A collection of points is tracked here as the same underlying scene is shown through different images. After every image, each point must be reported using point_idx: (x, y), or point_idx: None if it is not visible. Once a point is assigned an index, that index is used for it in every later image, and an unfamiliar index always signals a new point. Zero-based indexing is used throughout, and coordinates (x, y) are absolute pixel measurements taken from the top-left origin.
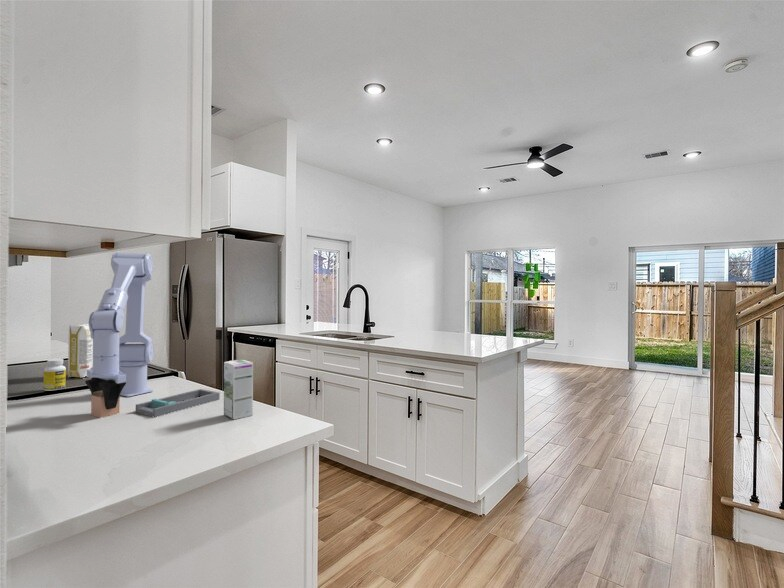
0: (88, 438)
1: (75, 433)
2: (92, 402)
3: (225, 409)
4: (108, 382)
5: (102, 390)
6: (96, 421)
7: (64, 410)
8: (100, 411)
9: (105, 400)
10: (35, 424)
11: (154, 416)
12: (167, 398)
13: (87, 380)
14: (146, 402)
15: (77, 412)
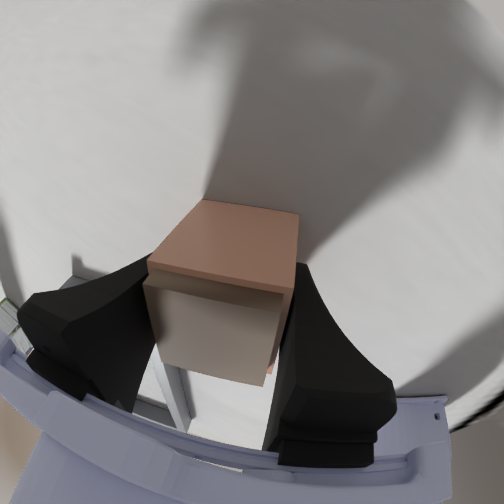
0: (33, 60)
1: (92, 37)
2: (280, 251)
3: (16, 321)
4: (60, 362)
5: (109, 300)
6: (164, 155)
7: (483, 229)
8: (191, 213)
9: (145, 262)
10: (405, 11)
11: (73, 277)
12: (161, 386)
13: (379, 413)
14: (153, 349)
15: (410, 224)
